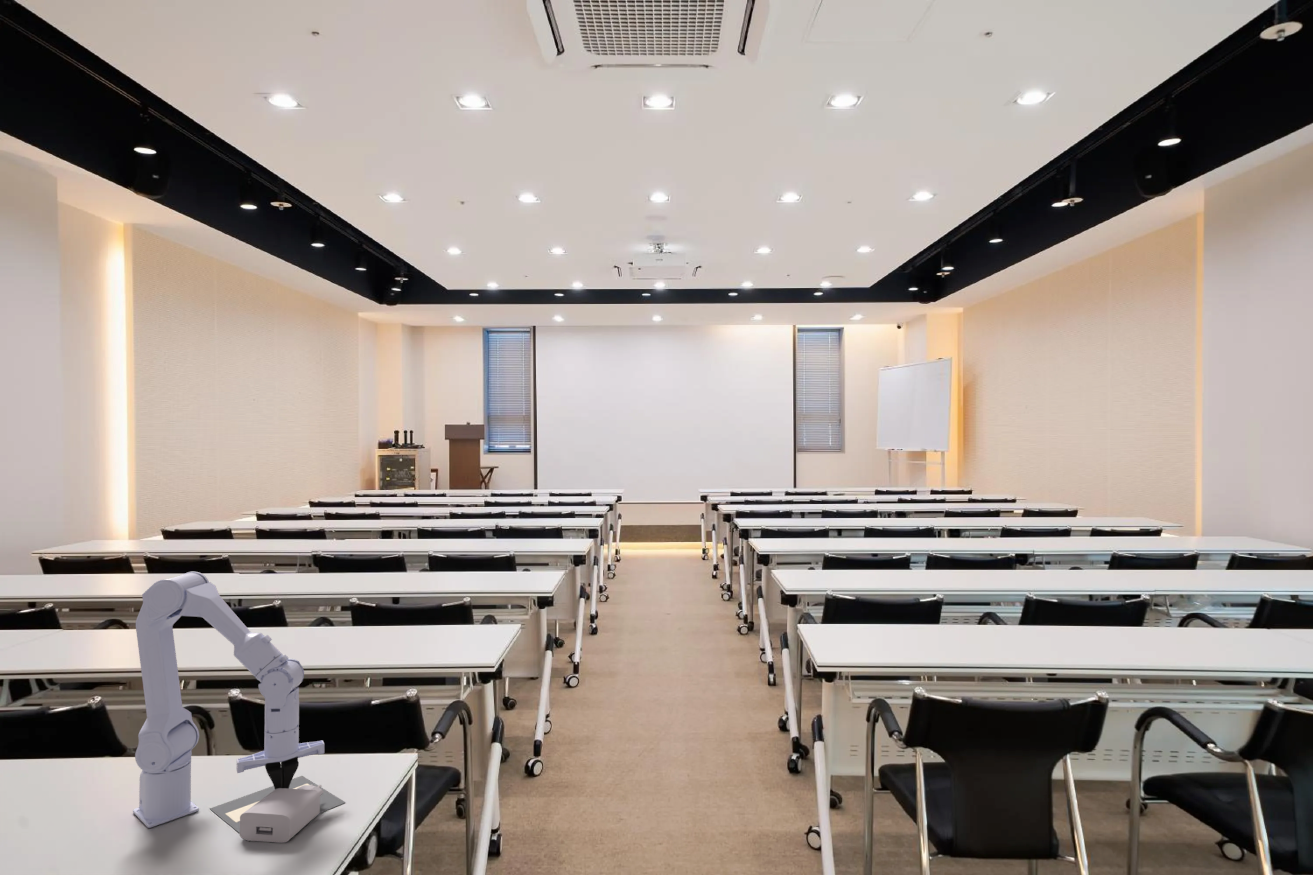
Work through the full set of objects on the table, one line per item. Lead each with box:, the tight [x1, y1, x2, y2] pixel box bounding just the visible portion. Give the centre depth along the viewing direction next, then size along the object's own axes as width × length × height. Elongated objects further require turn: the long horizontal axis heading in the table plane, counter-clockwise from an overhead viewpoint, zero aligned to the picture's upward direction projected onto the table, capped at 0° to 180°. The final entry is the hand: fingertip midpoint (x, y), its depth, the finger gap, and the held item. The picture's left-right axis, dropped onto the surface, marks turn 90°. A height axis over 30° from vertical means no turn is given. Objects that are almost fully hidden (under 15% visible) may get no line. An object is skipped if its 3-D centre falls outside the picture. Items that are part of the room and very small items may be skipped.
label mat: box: [209, 775, 347, 843], centre depth 132 cm, size 18×17×1 cm
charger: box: [239, 784, 323, 844], centre depth 127 cm, size 5×9×15 cm
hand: (281, 800), depth 131 cm, fingers closed
